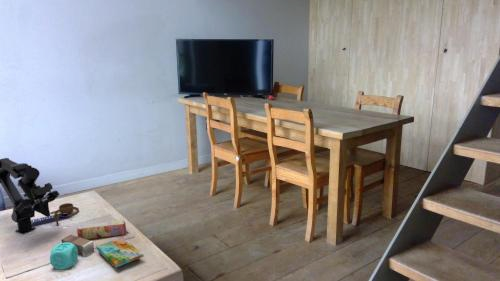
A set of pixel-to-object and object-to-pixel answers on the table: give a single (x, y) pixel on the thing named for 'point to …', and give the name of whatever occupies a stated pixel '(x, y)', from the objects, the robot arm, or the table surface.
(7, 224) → the table surface
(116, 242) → the puzzle game
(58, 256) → the decorative dice
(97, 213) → the table surface
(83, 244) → the walnut block
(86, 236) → the snack package
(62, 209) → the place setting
